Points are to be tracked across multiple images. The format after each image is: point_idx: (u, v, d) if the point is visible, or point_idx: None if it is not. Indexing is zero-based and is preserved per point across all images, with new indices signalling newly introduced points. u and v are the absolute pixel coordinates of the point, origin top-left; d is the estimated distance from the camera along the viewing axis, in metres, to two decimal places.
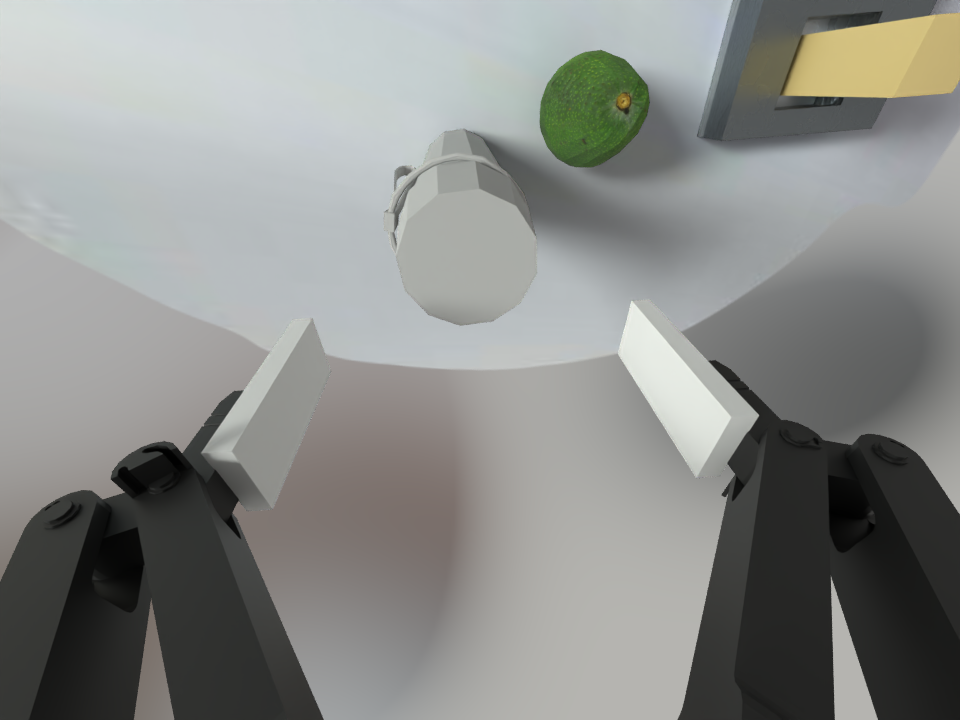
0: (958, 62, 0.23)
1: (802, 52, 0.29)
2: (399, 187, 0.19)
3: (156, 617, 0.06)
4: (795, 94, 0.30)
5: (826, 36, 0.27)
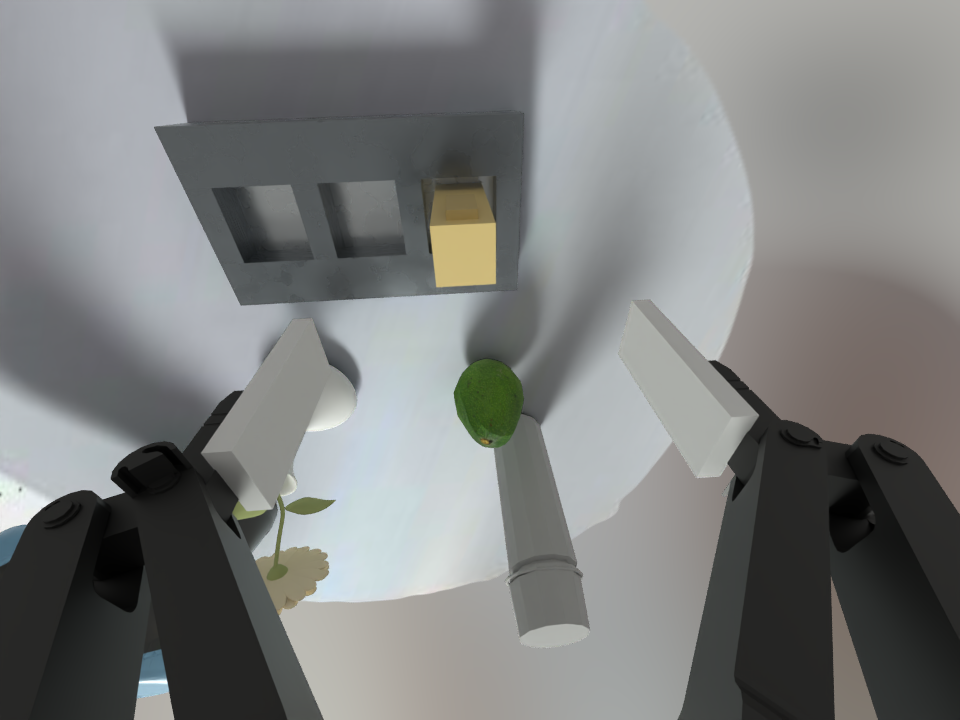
0: (469, 237, 0.22)
1: None
2: None
3: (156, 617, 0.06)
4: None
5: None
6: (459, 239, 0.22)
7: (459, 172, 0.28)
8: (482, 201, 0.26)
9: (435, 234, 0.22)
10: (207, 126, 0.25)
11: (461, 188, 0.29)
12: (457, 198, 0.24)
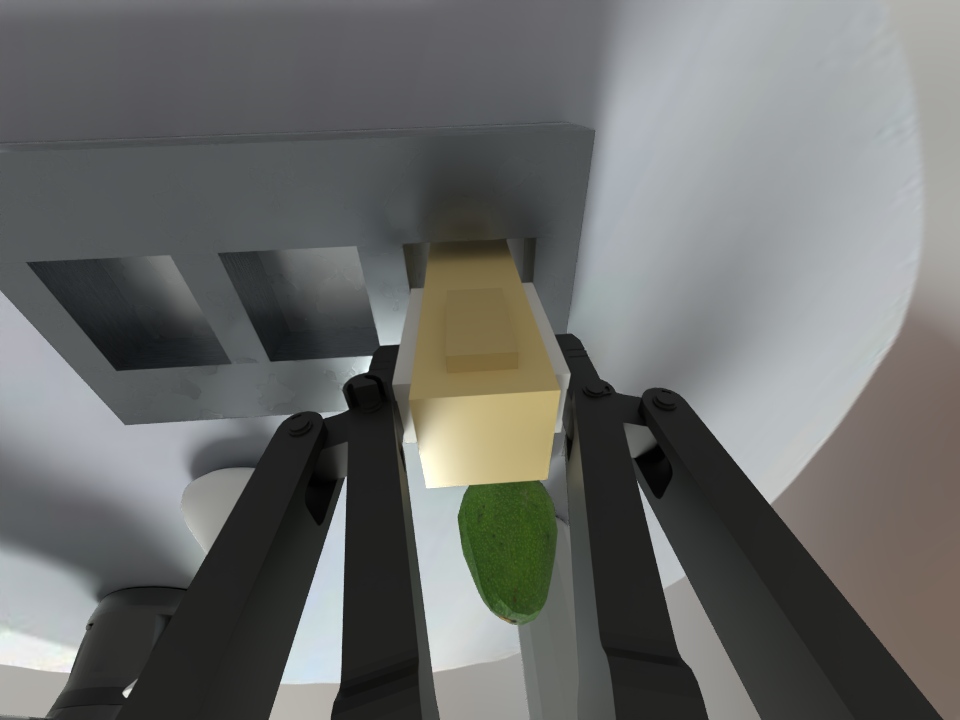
0: (499, 414, 0.10)
1: None
2: None
3: (346, 511, 0.08)
4: None
5: None
6: (476, 418, 0.10)
7: (471, 232, 0.16)
8: (515, 296, 0.14)
9: (423, 413, 0.10)
10: None
11: (473, 254, 0.17)
12: (469, 303, 0.12)
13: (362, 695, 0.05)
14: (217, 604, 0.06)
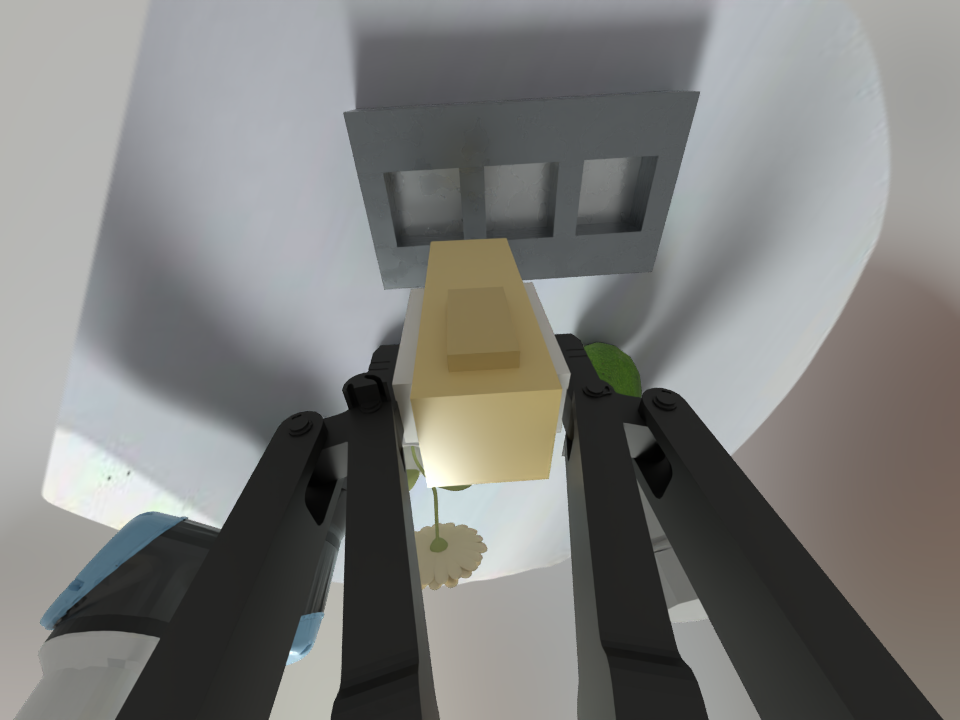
0: (501, 413, 0.10)
1: None
2: None
3: (346, 511, 0.08)
4: None
5: None
6: (477, 418, 0.10)
7: (623, 152, 0.28)
8: (517, 296, 0.14)
9: (424, 412, 0.10)
10: (393, 111, 0.26)
11: (474, 253, 0.17)
12: (471, 302, 0.12)
13: (362, 695, 0.05)
14: (216, 605, 0.06)
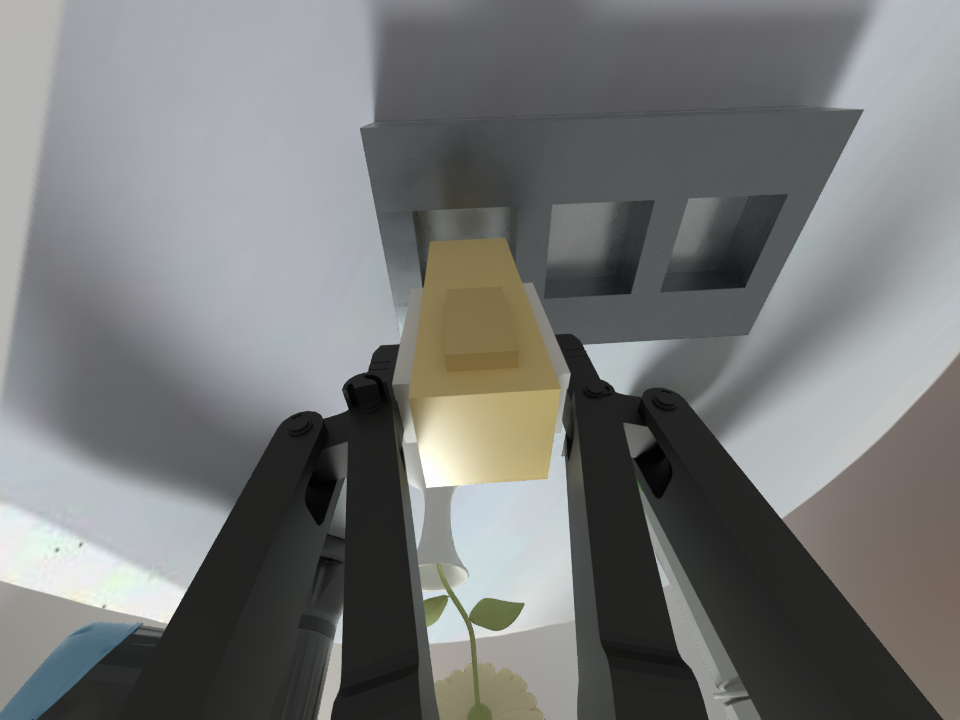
0: (499, 413, 0.10)
1: None
2: (718, 698, 0.31)
3: (346, 511, 0.08)
4: None
5: None
6: (476, 418, 0.10)
7: (742, 189, 0.21)
8: (515, 295, 0.14)
9: (423, 412, 0.10)
10: (433, 127, 0.18)
11: (473, 253, 0.17)
12: (469, 302, 0.12)
13: (361, 695, 0.05)
14: (217, 605, 0.06)
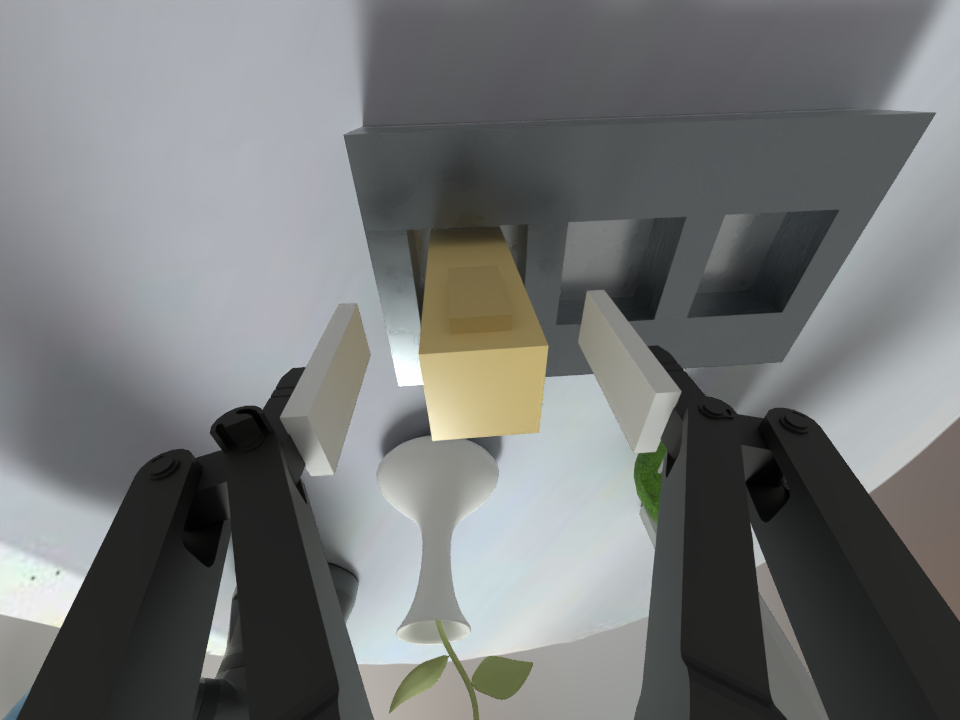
0: (496, 369, 0.11)
1: None
2: None
3: (235, 563, 0.07)
4: None
5: None
6: (476, 372, 0.11)
7: (788, 204, 0.18)
8: (509, 274, 0.15)
9: (430, 367, 0.11)
10: (430, 134, 0.15)
11: (470, 240, 0.19)
12: (469, 278, 0.14)
13: None
14: (81, 680, 0.06)
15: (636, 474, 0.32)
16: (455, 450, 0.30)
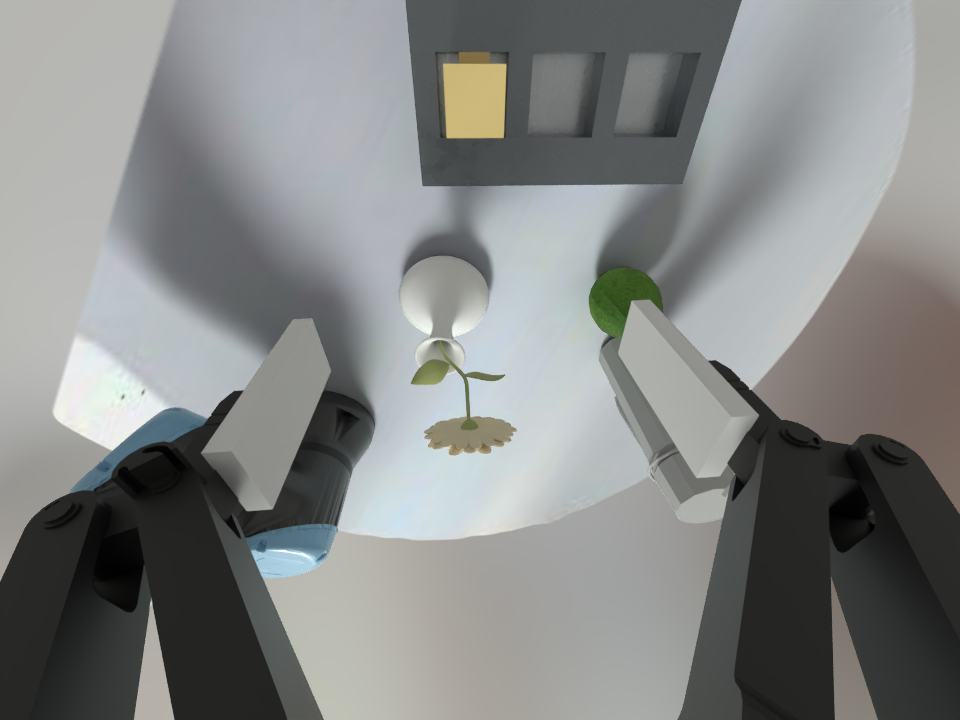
0: (480, 79, 0.23)
1: None
2: (652, 479, 0.40)
3: (156, 617, 0.06)
4: None
5: None
6: (470, 81, 0.23)
7: (668, 46, 0.29)
8: None
9: (448, 74, 0.23)
10: None
11: None
12: None
13: None
14: None
15: (590, 296, 0.44)
16: (458, 264, 0.42)
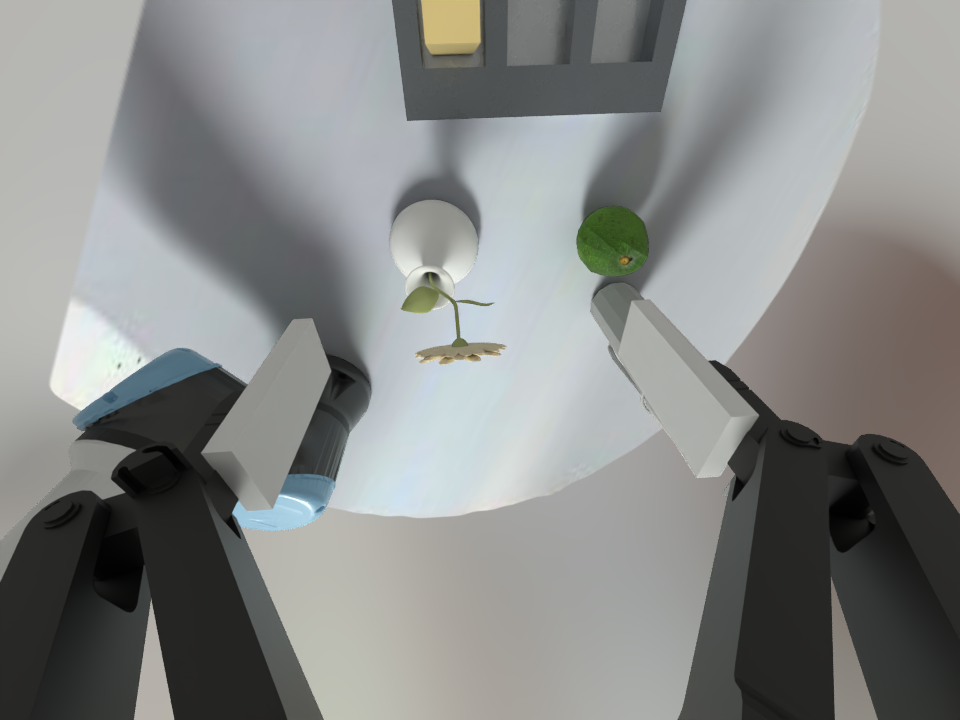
0: None
1: (443, 53, 0.33)
2: (646, 411, 0.41)
3: (156, 617, 0.06)
4: (473, 52, 0.32)
5: (433, 52, 0.32)
6: None
7: None
8: None
9: None
10: None
11: None
12: None
13: None
14: None
15: (577, 238, 0.45)
16: (445, 207, 0.42)
